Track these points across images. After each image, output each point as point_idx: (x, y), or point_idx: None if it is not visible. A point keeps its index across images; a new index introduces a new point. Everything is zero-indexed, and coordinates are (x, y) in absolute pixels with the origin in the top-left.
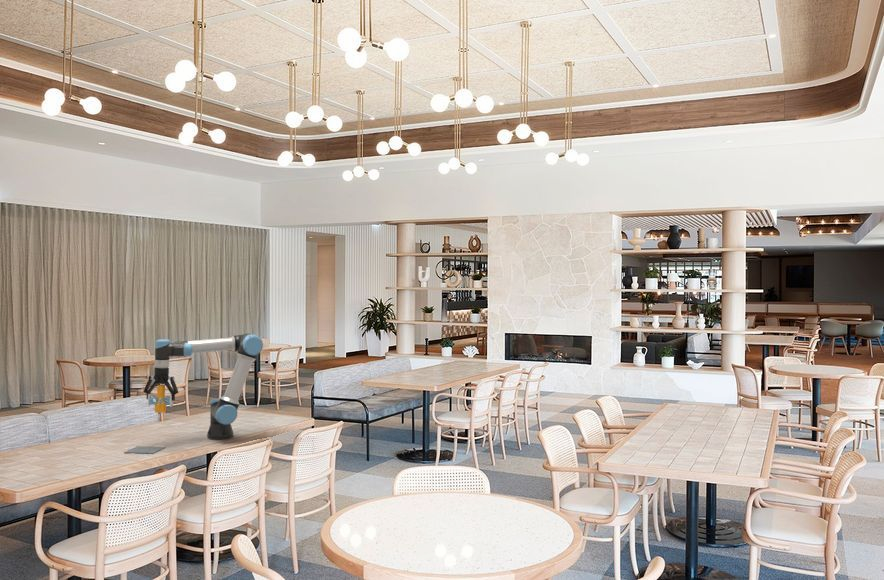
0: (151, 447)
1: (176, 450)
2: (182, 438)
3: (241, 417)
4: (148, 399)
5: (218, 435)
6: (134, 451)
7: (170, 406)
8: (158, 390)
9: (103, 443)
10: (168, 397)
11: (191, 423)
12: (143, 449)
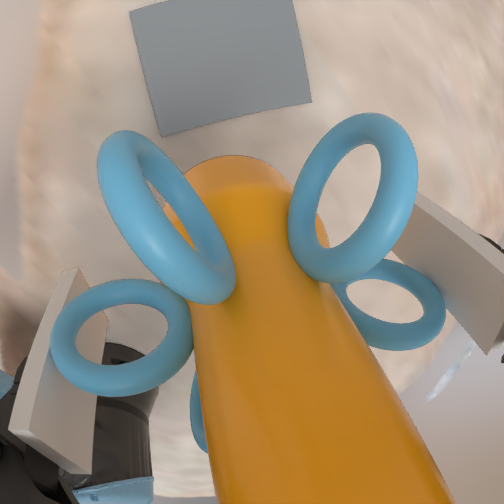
0: (223, 102)
1: (71, 121)
2: None
3: None
4: (460, 227)
5: None
6: (249, 3)
7: (66, 273)
8: (389, 484)
9: (456, 143)
10: (77, 386)
11: None
12: (233, 50)
